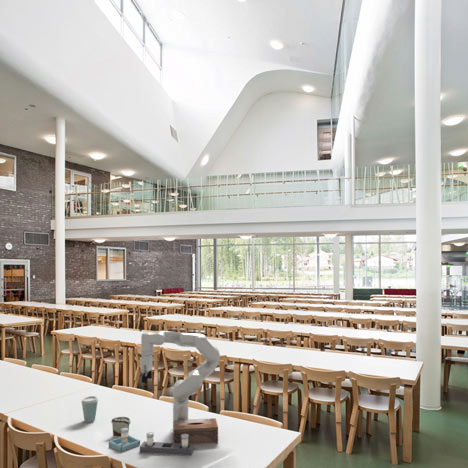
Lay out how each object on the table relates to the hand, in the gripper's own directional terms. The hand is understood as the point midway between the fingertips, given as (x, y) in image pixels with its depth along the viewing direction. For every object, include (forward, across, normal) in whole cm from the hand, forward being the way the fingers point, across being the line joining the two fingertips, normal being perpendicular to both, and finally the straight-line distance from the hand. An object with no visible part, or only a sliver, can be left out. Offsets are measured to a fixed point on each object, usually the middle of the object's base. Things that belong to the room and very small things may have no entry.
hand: (146, 380), depth 265 cm
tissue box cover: (+33, +6, +32) cm, 47 cm away
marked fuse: (+31, +20, -6) cm, 38 cm away
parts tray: (+32, +20, -6) cm, 39 cm away
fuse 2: (+31, +25, +30) cm, 50 cm away
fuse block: (+32, +25, +20) cm, 45 cm away
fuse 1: (+31, +25, +10) cm, 41 cm away
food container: (+32, +4, -14) cm, 35 cm away
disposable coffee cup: (+32, -16, -45) cm, 58 cm away
